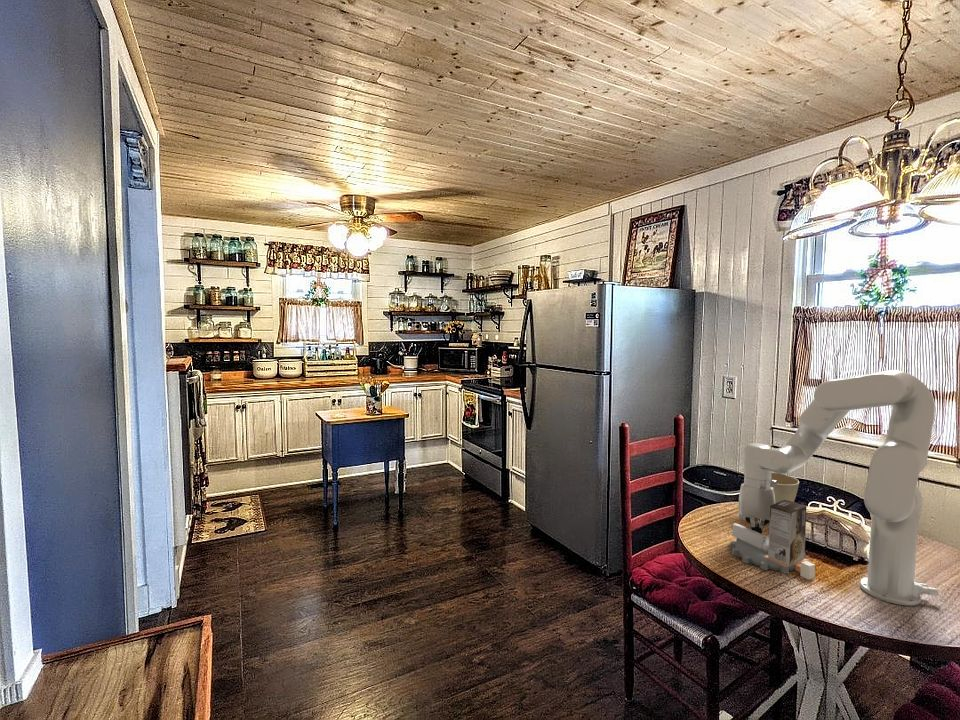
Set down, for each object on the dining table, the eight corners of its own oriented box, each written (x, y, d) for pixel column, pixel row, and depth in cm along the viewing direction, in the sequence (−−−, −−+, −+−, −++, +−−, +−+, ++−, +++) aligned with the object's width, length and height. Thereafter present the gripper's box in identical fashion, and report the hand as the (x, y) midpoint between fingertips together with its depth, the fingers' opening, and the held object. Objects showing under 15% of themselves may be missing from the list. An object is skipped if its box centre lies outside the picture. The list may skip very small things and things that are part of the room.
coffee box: (782, 549, 151) (784, 498, 149) (805, 558, 145) (807, 505, 144) (766, 557, 146) (769, 504, 144) (789, 566, 140) (792, 511, 139)
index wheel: (755, 534, 165) (756, 518, 165) (824, 564, 145) (825, 546, 145) (711, 545, 157) (711, 528, 157) (777, 578, 137) (778, 559, 136)
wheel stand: (802, 557, 151) (803, 544, 151) (815, 581, 137) (816, 567, 137) (747, 548, 157) (748, 536, 157) (754, 570, 143) (755, 557, 143)
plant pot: (747, 521, 178) (749, 479, 177) (752, 509, 191) (754, 469, 189) (796, 531, 170) (798, 487, 169) (797, 518, 182) (800, 476, 181)
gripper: (782, 481, 157) (780, 537, 158) (730, 476, 163) (729, 530, 164) (787, 488, 150) (785, 546, 151) (732, 483, 156) (731, 539, 157)
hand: (756, 538), depth 157 cm, fingers closed
